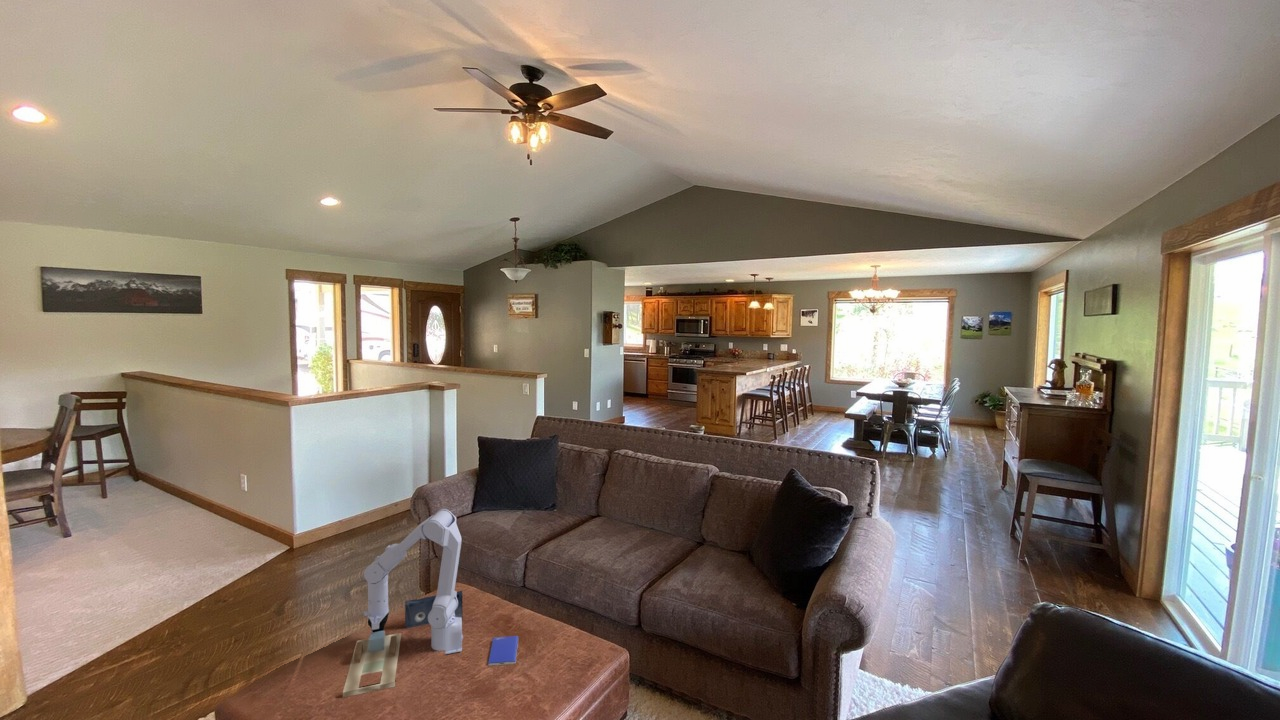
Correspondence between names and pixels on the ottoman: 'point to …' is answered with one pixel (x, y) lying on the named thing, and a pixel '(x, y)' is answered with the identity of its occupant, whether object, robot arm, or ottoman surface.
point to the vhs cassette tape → (425, 610)
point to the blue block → (377, 641)
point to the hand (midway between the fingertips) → (378, 637)
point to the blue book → (503, 650)
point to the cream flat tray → (373, 665)
